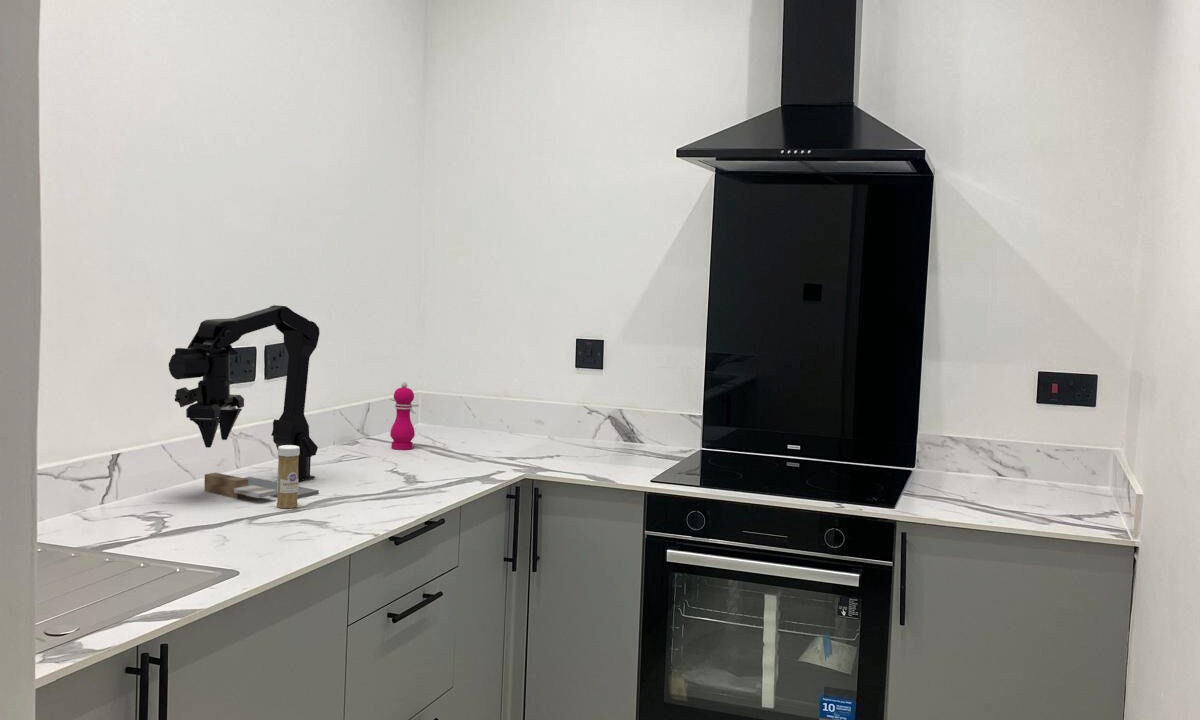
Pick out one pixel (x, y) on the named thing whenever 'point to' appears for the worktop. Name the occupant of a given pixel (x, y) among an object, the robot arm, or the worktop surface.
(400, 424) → the pepper mill
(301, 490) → the tool mat
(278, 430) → the robot arm
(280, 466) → the sprinkles bottle
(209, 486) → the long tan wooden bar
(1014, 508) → the worktop surface
